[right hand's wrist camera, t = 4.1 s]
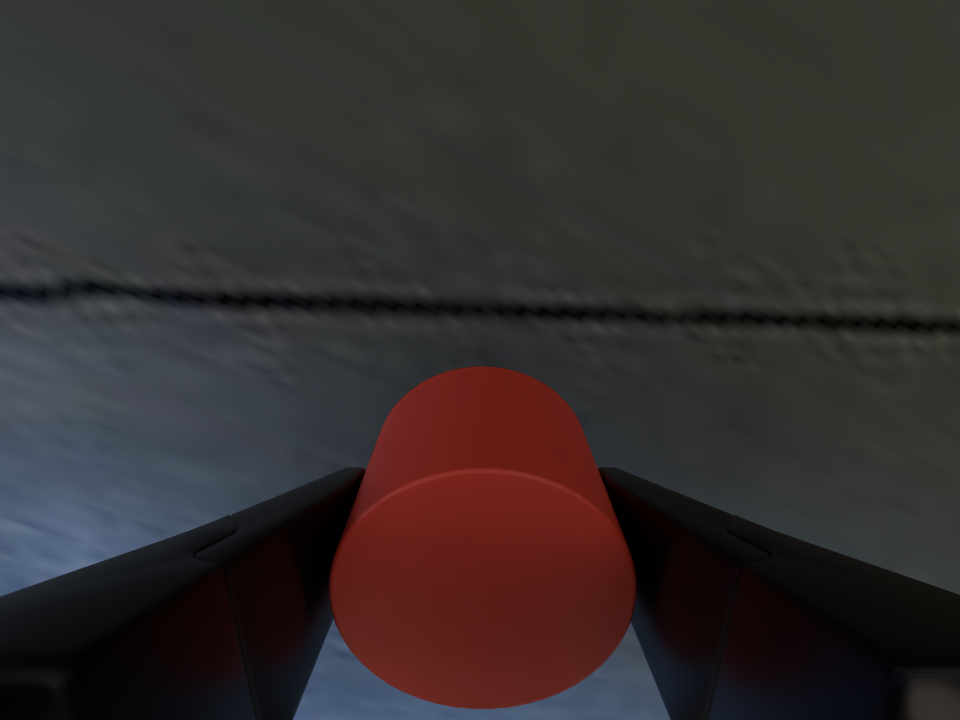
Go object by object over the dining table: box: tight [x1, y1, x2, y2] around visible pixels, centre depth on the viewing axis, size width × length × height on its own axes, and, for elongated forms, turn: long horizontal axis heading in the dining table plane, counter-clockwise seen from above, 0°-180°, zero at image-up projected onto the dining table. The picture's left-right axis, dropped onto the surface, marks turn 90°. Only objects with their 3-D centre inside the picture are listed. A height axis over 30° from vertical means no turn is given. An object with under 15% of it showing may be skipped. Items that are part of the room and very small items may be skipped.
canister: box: [329, 367, 637, 709], centre depth 11 cm, size 5×5×4 cm
